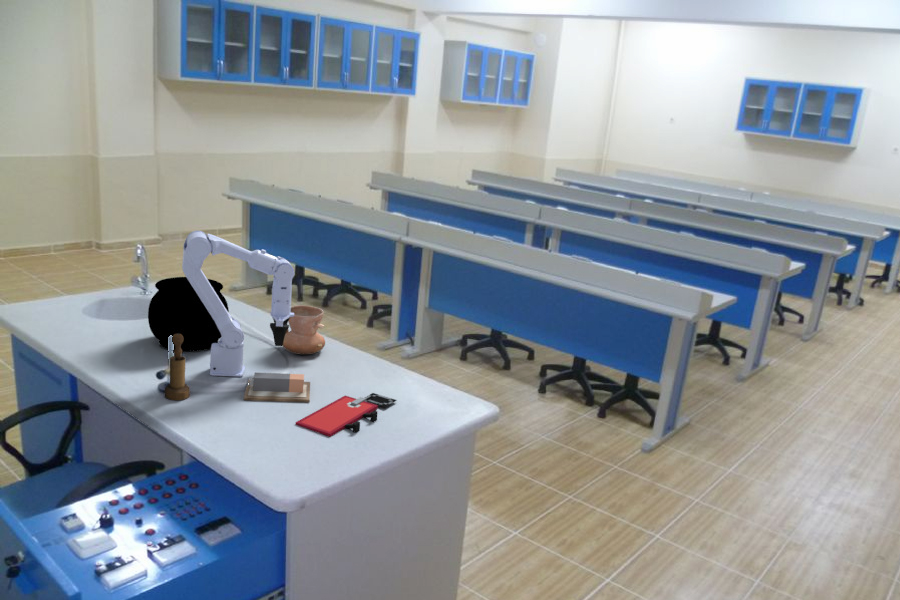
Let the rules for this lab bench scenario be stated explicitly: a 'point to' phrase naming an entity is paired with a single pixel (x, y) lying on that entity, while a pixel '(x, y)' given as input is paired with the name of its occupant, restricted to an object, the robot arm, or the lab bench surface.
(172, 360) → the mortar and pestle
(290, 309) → the robot arm
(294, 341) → the ceramic jug
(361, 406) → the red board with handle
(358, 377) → the lab bench surface
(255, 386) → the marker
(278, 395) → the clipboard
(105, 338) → the lab bench surface
